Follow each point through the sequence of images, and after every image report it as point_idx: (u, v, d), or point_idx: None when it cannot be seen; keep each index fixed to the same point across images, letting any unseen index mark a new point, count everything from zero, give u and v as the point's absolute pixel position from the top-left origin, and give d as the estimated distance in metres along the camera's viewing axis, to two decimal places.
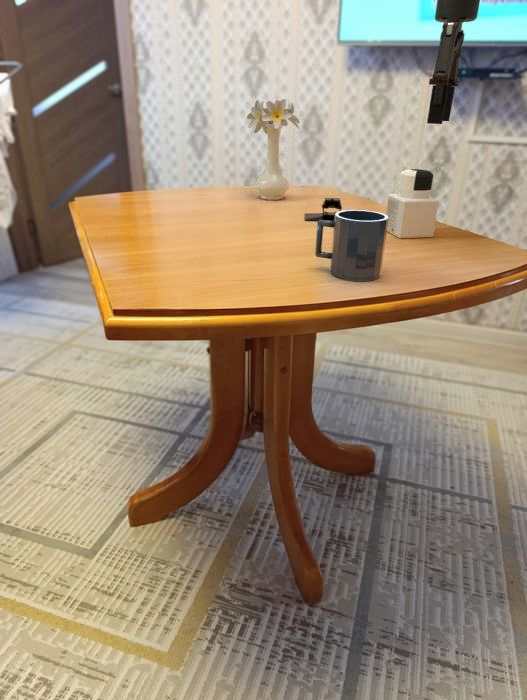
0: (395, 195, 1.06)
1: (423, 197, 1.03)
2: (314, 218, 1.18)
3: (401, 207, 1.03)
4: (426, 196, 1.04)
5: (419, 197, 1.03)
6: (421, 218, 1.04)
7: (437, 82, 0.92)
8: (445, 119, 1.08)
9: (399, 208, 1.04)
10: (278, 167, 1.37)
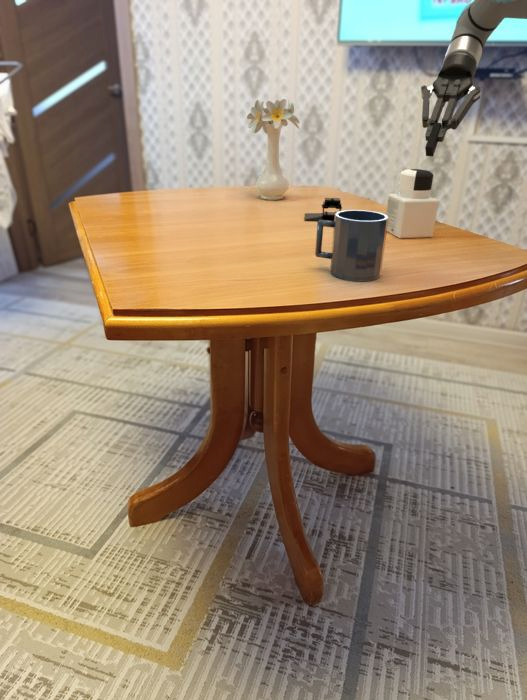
0: (395, 195, 1.06)
1: (423, 197, 1.03)
2: (314, 218, 1.18)
3: (401, 207, 1.03)
4: (426, 196, 1.04)
5: (419, 197, 1.03)
6: (421, 218, 1.04)
7: (427, 126, 1.11)
8: None
9: (399, 208, 1.04)
10: (278, 167, 1.37)
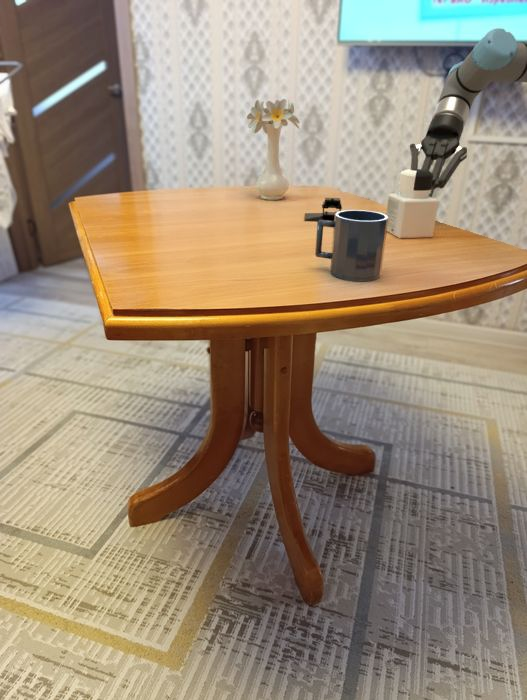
0: (395, 195, 1.06)
1: (423, 197, 1.03)
2: (314, 218, 1.18)
3: (401, 207, 1.03)
4: (426, 196, 1.04)
5: (419, 197, 1.03)
6: (421, 218, 1.04)
7: None
8: None
9: (399, 208, 1.04)
10: (278, 167, 1.37)
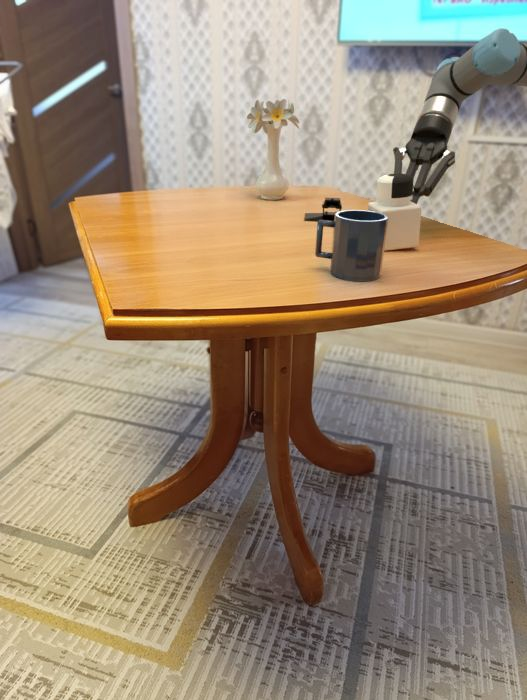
0: (374, 204, 0.97)
1: (403, 204, 0.94)
2: (314, 218, 1.18)
3: None
4: (407, 203, 0.94)
5: (399, 205, 0.93)
6: (403, 228, 0.95)
7: None
8: None
9: None
10: (278, 167, 1.37)
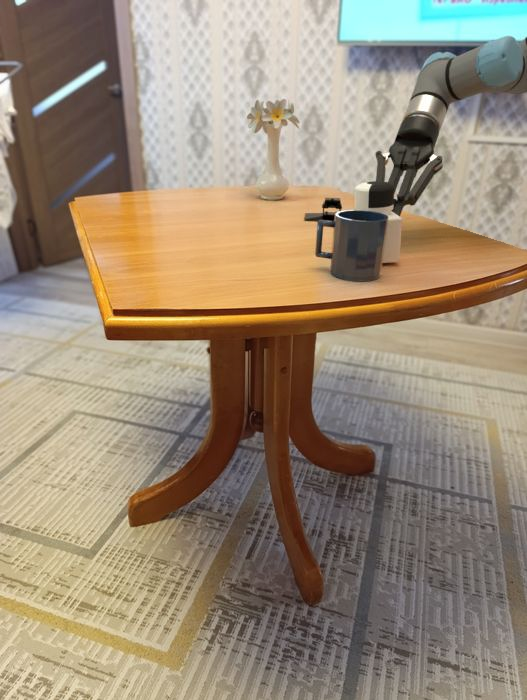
0: None
1: None
2: (314, 218, 1.18)
3: None
4: (386, 214, 0.86)
5: None
6: None
7: None
8: None
9: None
10: (278, 167, 1.37)
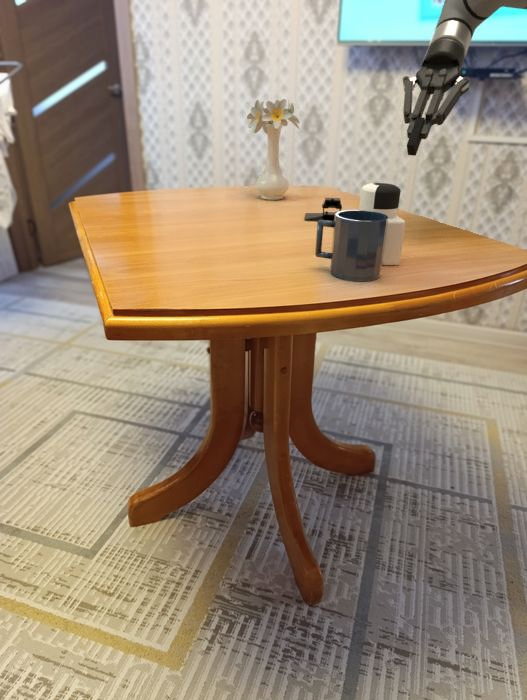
0: None
1: None
2: (314, 218, 1.18)
3: None
4: (391, 216, 0.86)
5: None
6: None
7: (409, 122, 0.98)
8: None
9: None
10: (278, 167, 1.37)
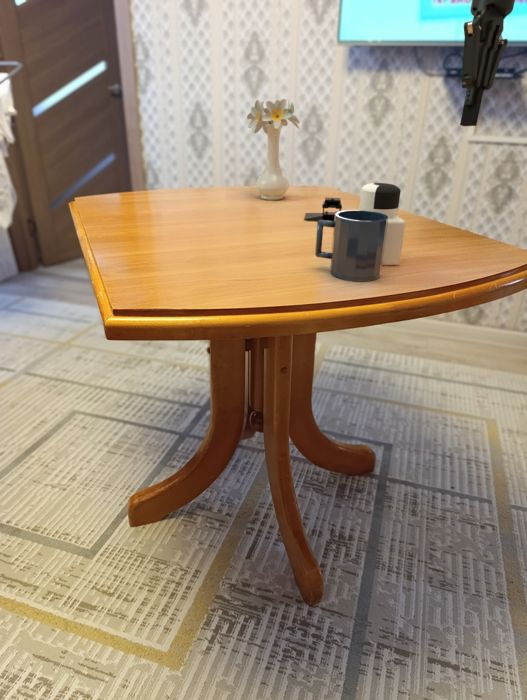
0: None
1: None
2: (314, 218, 1.18)
3: None
4: (391, 216, 0.86)
5: None
6: None
7: (467, 84, 0.98)
8: None
9: None
10: (278, 167, 1.37)
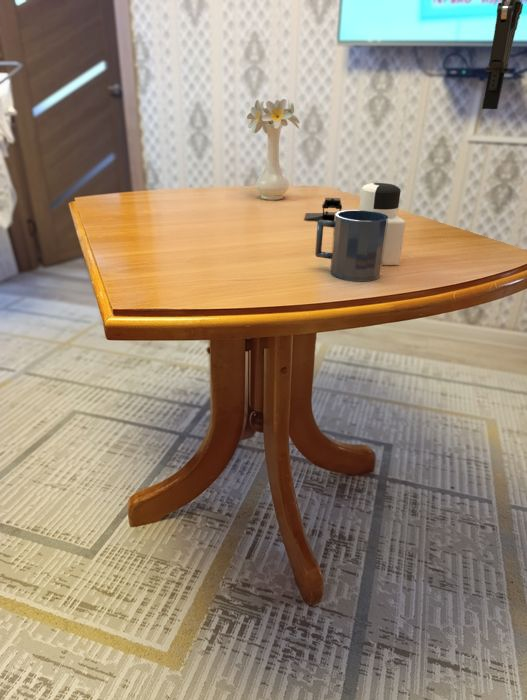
0: None
1: None
2: (314, 218, 1.18)
3: None
4: (391, 216, 0.86)
5: None
6: None
7: (493, 69, 0.98)
8: None
9: None
10: (278, 167, 1.37)
